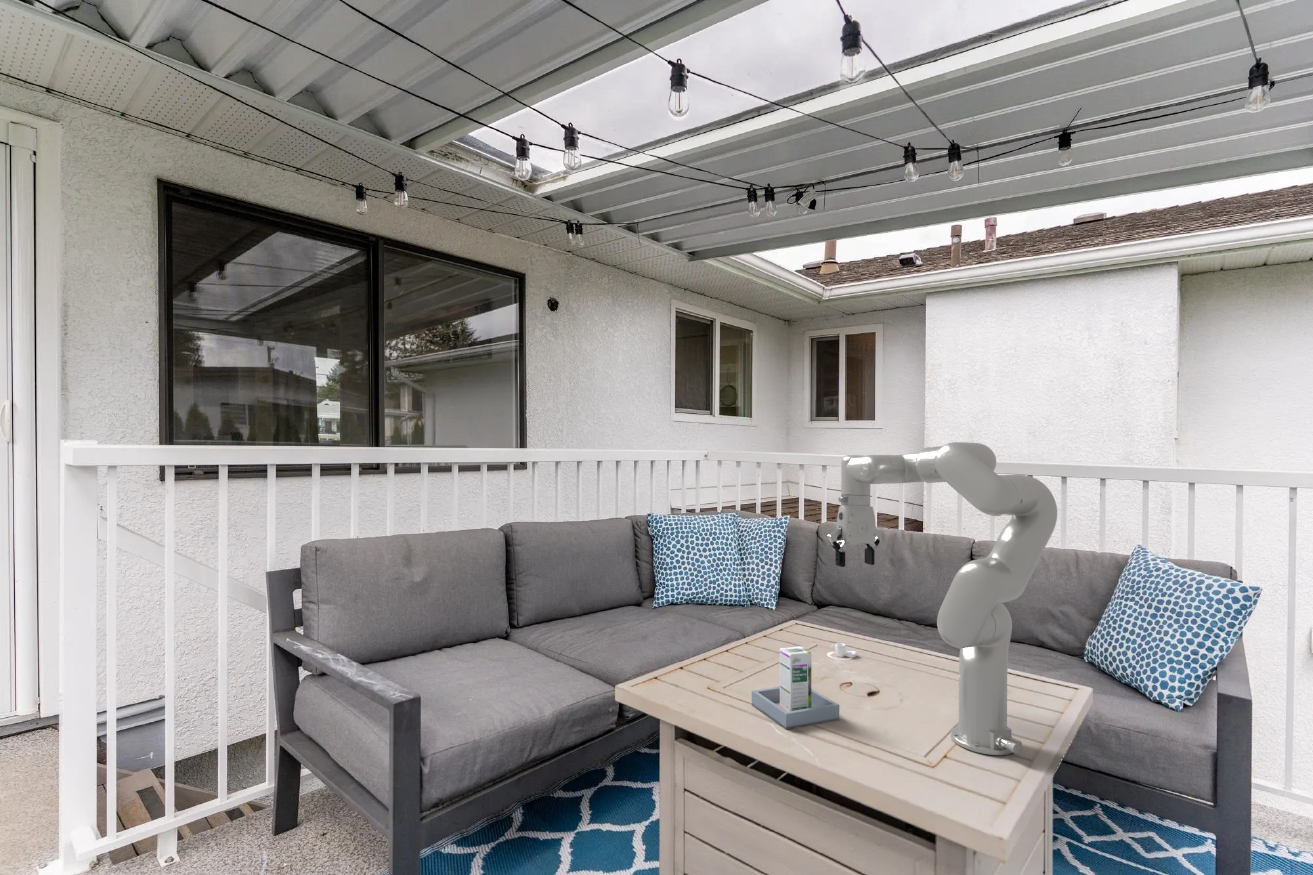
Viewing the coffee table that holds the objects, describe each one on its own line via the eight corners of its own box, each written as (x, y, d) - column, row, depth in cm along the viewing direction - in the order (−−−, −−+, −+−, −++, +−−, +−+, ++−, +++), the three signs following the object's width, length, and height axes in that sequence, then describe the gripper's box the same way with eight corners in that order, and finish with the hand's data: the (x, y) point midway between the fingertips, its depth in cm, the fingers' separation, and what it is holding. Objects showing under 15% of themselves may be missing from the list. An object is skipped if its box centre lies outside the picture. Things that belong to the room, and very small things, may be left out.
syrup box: (790, 715, 152) (791, 654, 152) (778, 705, 157) (779, 646, 158) (811, 712, 153) (812, 652, 154) (799, 703, 159) (800, 644, 159)
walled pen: (839, 719, 151) (839, 704, 152) (785, 729, 146) (786, 714, 146) (801, 696, 165) (801, 683, 165) (751, 704, 160) (751, 690, 160)
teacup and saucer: (859, 656, 200) (859, 643, 200) (851, 663, 193) (852, 650, 193) (831, 651, 205) (831, 638, 205) (823, 658, 198) (823, 645, 198)
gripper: (838, 502, 165) (837, 569, 164) (890, 501, 171) (890, 565, 171) (820, 500, 172) (819, 564, 171) (871, 499, 178) (870, 561, 178)
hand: (855, 565), depth 171 cm, fingers open, 9 cm apart
